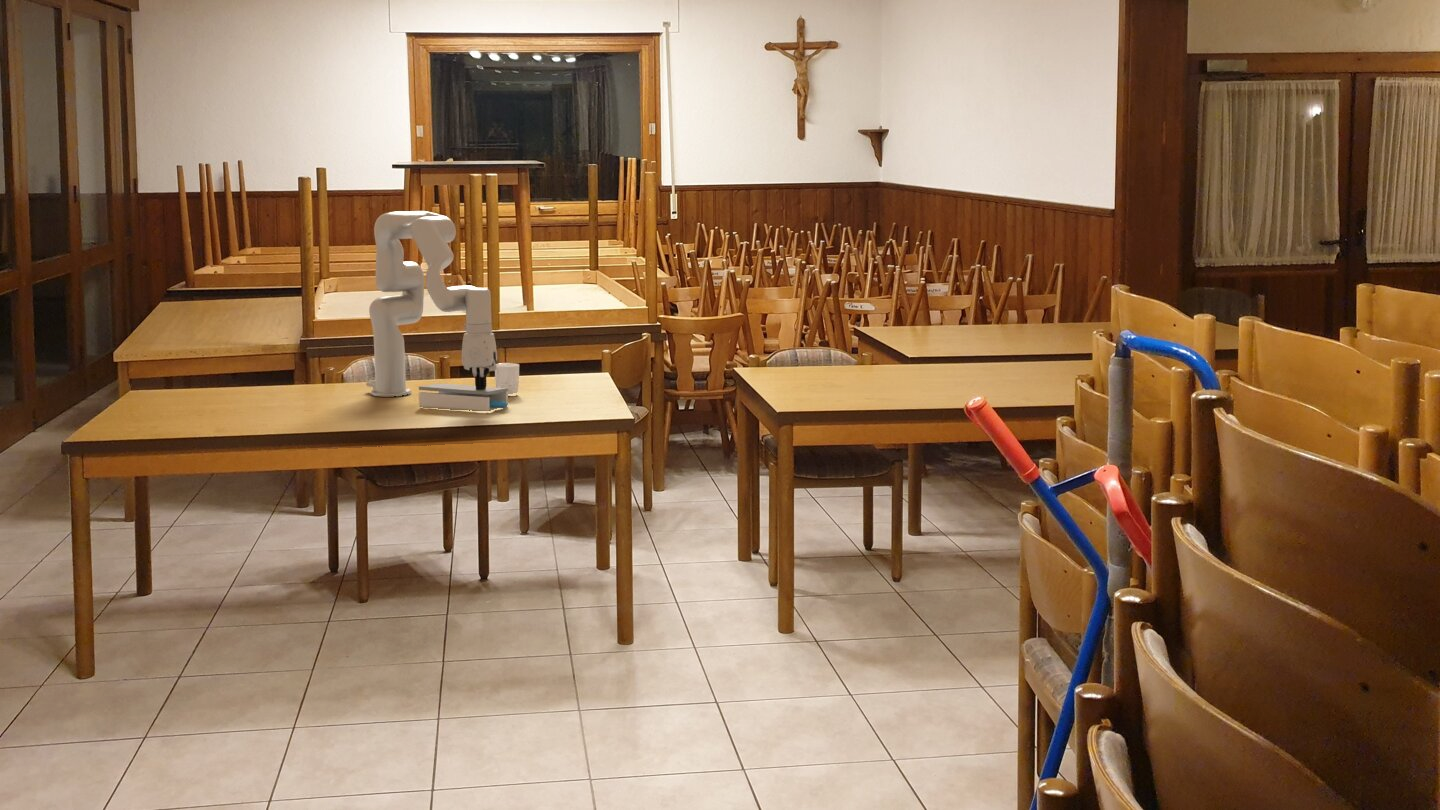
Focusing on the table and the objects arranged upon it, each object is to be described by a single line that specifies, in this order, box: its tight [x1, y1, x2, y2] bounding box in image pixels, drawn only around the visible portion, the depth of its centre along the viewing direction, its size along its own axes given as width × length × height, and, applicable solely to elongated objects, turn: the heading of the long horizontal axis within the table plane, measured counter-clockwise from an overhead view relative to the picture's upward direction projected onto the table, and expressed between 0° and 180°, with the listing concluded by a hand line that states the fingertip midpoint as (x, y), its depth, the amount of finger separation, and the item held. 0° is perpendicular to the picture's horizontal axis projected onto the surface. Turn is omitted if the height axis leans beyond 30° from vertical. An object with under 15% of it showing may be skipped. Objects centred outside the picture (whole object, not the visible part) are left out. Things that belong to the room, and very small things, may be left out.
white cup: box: [494, 362, 520, 394], centre depth 458 cm, size 8×8×10 cm
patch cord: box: [489, 400, 507, 409], centre depth 436 cm, size 29×2×2 cm, turn 69°
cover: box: [418, 383, 508, 395], centre depth 436 cm, size 24×12×1 cm, turn 69°
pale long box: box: [418, 391, 509, 411], centre depth 436 cm, size 24×12×5 cm, turn 69°
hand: (480, 389), depth 431 cm, fingers closed
